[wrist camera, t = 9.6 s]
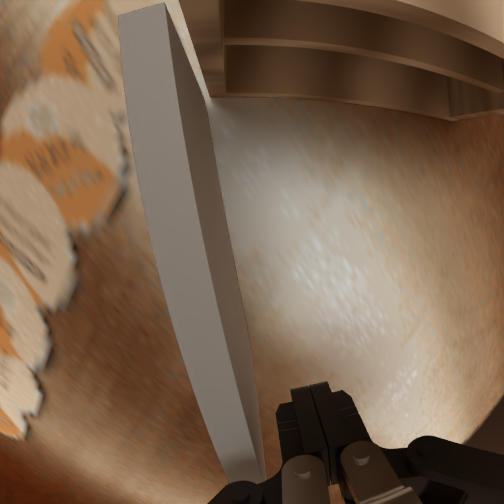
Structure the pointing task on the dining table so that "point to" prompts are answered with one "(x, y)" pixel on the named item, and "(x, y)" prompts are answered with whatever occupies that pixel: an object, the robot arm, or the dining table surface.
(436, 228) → the dining table surface
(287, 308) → the dining table surface
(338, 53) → the cabinet
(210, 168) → the door
